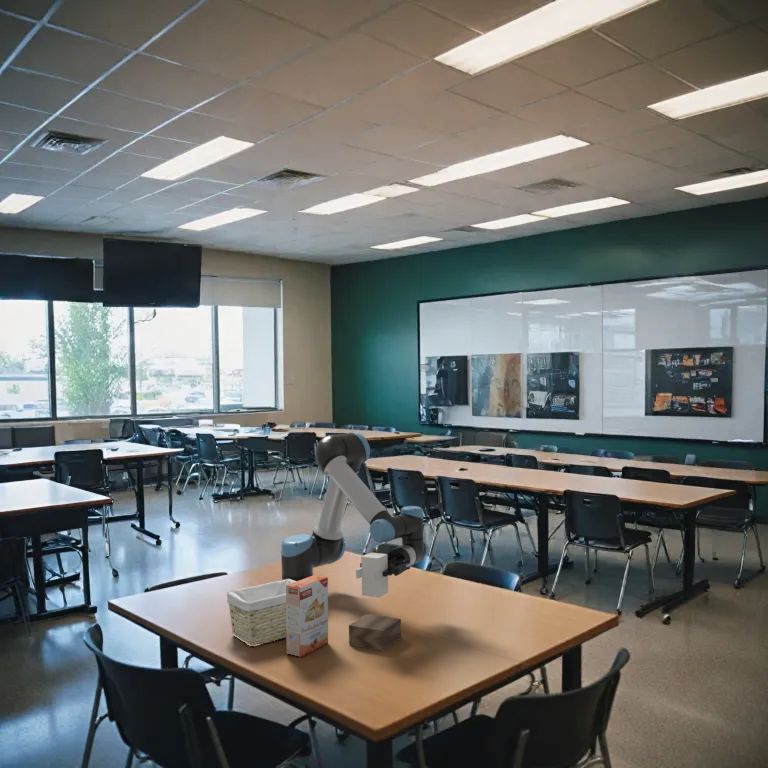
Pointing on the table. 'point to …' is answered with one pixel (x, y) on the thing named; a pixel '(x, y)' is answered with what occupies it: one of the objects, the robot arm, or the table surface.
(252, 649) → the table surface
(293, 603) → the cracker box
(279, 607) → the storage basket
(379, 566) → the white block
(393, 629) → the walnut block
